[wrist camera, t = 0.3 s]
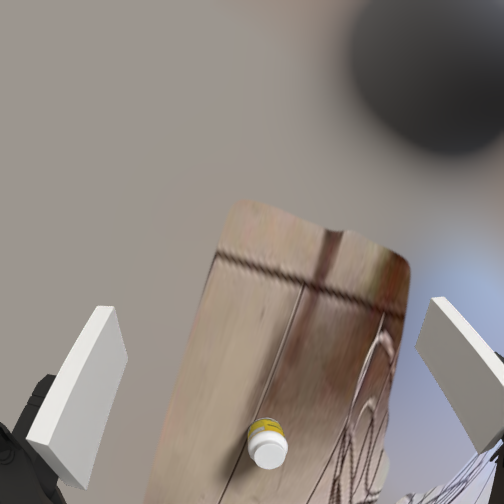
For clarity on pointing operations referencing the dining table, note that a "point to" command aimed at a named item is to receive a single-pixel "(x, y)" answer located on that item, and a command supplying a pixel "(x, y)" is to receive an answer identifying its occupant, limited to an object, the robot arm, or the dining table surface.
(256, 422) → the supplement bottle
